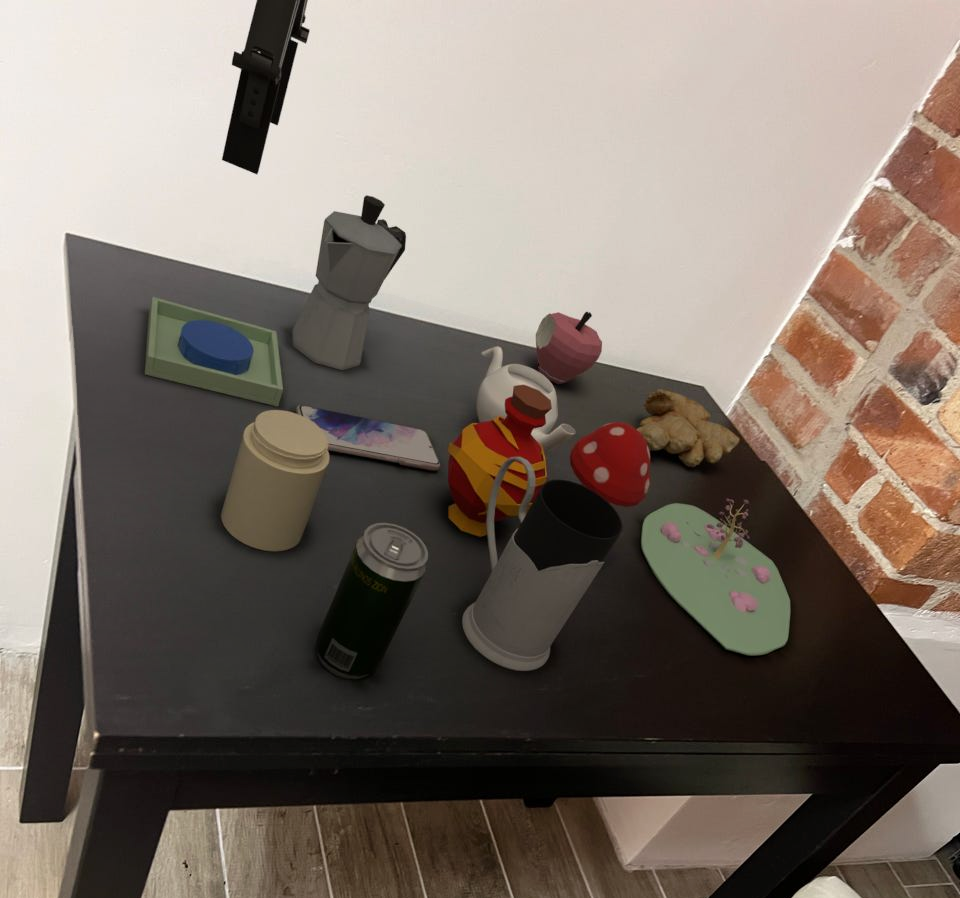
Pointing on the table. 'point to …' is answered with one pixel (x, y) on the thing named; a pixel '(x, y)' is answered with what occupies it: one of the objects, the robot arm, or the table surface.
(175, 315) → the tray
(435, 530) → the table surface
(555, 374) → the apple
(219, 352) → the lid
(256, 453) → the jar
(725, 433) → the ginger root
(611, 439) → the decorative mushroom
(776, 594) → the plant
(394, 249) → the coffee maker
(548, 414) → the teapot
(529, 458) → the potion bottle
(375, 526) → the beer can
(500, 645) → the glass holder
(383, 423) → the smartphone
